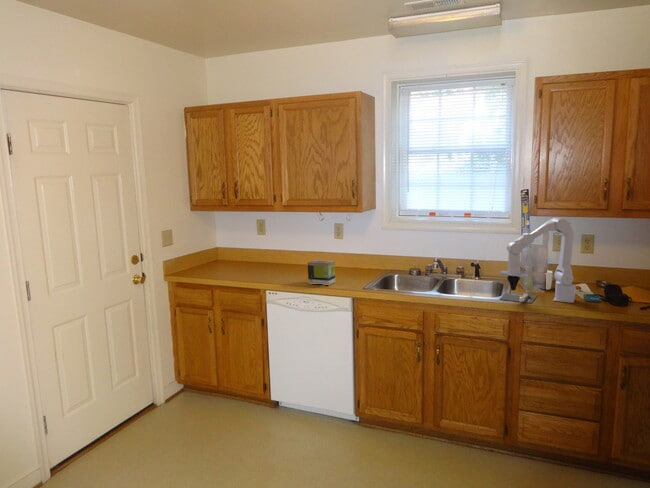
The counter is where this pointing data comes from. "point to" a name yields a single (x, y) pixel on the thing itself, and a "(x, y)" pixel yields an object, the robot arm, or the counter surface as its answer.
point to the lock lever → (524, 297)
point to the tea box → (321, 271)
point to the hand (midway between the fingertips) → (513, 289)
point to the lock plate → (516, 297)
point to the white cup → (548, 279)
